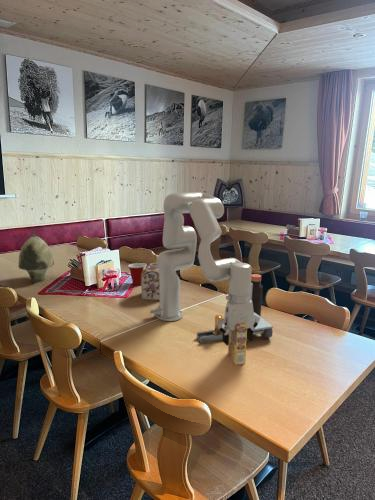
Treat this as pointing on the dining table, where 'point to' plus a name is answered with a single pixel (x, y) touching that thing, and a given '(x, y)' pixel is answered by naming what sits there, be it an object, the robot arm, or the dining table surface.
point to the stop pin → (217, 319)
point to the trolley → (261, 325)
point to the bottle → (256, 293)
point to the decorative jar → (150, 282)
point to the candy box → (238, 344)
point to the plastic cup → (136, 272)
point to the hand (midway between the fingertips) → (237, 341)
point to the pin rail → (208, 336)
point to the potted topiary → (35, 258)
